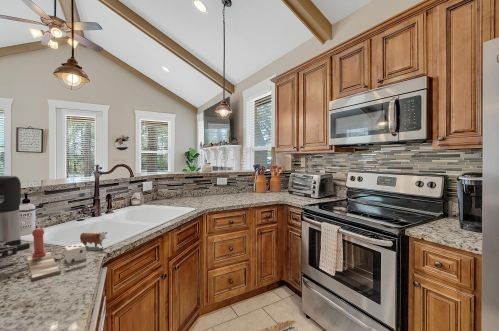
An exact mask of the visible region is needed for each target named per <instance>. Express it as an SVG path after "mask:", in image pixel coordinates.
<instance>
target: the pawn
mask: <svg viewBox="0 0 499 331" xmlns="http://www.w3.org/2000/svg"><path fill="white" fill-rule="evenodd" d="M44 234H45V230H44V229H43V228H41V227H37V228H35V229H33V230H32V233H31V235H32V237H33V253H32V255H31V256H32V257H33V258H39V257H40V258H41V257H43V256H45V255H46V253H47V252H46V250H45V248H44V247H45V246H44Z"/></svg>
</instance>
